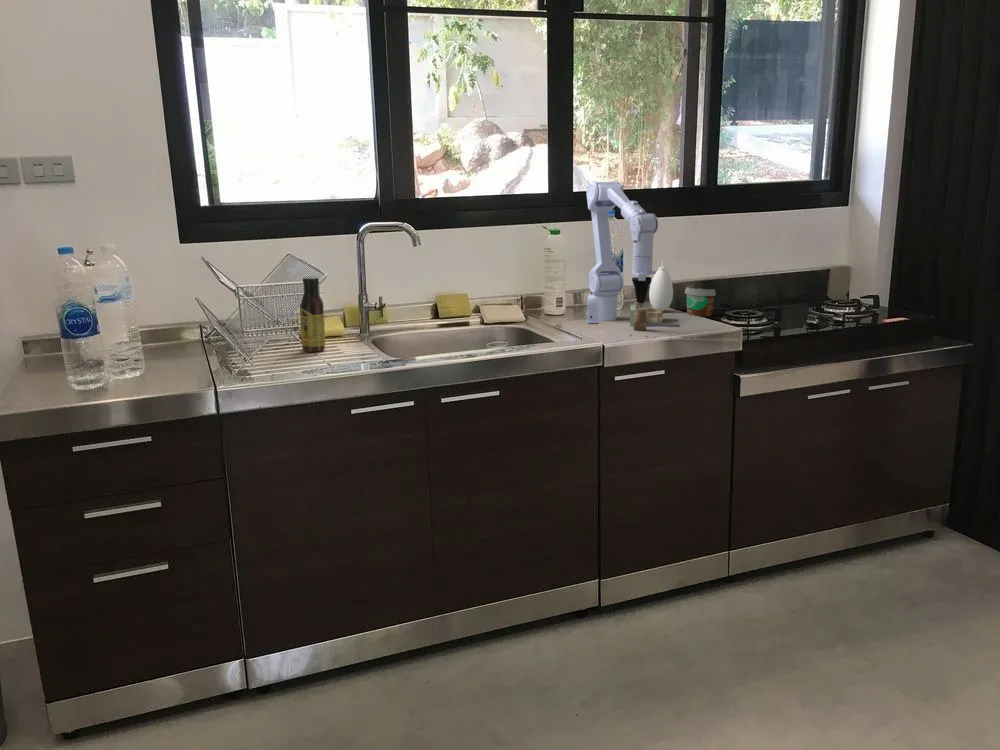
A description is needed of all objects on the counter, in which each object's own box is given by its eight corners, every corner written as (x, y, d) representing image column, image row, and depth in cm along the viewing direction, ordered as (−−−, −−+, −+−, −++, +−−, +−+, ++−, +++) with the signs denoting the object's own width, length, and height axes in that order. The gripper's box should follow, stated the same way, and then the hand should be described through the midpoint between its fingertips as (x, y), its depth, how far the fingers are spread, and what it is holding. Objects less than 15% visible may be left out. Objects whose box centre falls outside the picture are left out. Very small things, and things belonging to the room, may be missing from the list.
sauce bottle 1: (300, 349, 227) (296, 276, 222) (323, 347, 229) (320, 275, 224) (304, 353, 221) (299, 279, 216) (327, 352, 223) (323, 278, 218)
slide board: (629, 329, 254) (630, 310, 253) (630, 322, 266) (630, 304, 264) (679, 330, 252) (680, 311, 251) (677, 324, 264) (678, 305, 262)
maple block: (635, 324, 256) (636, 312, 255) (635, 320, 263) (636, 308, 262) (662, 325, 254) (662, 312, 254) (661, 321, 262) (662, 308, 261)
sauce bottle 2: (676, 312, 285) (679, 259, 281) (659, 314, 281) (661, 261, 277) (661, 309, 292) (663, 257, 287) (644, 311, 288) (646, 259, 283)
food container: (675, 315, 279) (677, 285, 277) (690, 314, 282) (692, 284, 279) (698, 321, 268) (700, 290, 266) (714, 319, 271) (716, 289, 268)
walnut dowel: (633, 334, 247) (634, 311, 245) (633, 332, 250) (634, 309, 248) (645, 334, 246) (646, 311, 244) (645, 332, 250) (646, 309, 248)
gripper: (657, 258, 235) (654, 306, 238) (656, 253, 249) (654, 298, 252) (631, 258, 236) (630, 305, 239) (632, 253, 250) (630, 298, 253)
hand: (640, 302), depth 246 cm, fingers closed
